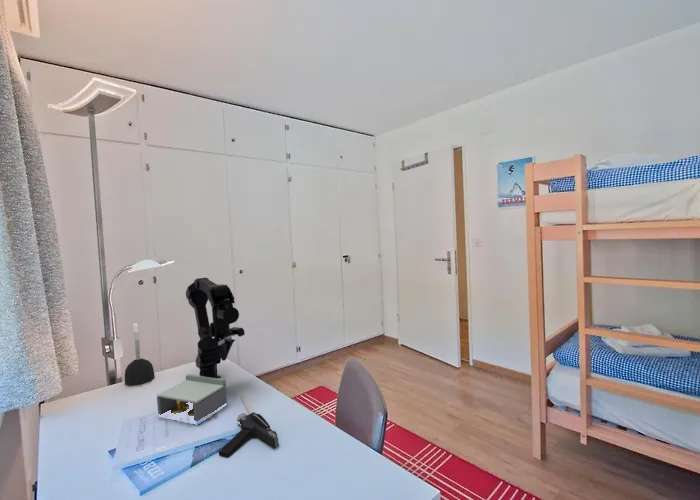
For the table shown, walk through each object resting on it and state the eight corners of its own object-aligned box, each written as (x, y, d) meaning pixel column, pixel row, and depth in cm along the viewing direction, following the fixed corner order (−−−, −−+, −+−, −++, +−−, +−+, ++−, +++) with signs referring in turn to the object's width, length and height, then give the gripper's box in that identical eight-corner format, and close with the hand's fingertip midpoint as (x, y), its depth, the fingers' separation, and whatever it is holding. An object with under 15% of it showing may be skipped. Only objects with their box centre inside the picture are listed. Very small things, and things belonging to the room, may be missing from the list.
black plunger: (124, 381, 149) (119, 323, 148) (153, 374, 155) (149, 318, 154) (124, 390, 140) (119, 328, 138) (156, 382, 146) (151, 323, 145)
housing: (190, 400, 127) (188, 381, 127) (227, 407, 121) (225, 386, 121) (158, 419, 115) (156, 397, 115) (197, 427, 109) (196, 404, 109)
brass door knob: (181, 407, 121) (179, 389, 121) (193, 409, 119) (191, 391, 119) (167, 415, 116) (165, 396, 116) (179, 418, 114) (178, 398, 114)
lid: (188, 380, 127) (188, 374, 127) (226, 385, 121) (225, 379, 120) (157, 396, 115) (156, 389, 115) (196, 403, 109) (195, 396, 108)
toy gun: (230, 461, 88) (282, 430, 97) (201, 426, 103) (248, 403, 113) (233, 478, 88) (284, 445, 98) (203, 441, 104) (250, 416, 114)
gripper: (221, 312, 143) (224, 350, 144) (184, 324, 126) (187, 367, 126) (244, 313, 138) (246, 352, 139) (208, 326, 121) (211, 370, 122)
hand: (223, 360), depth 132 cm, fingers closed
